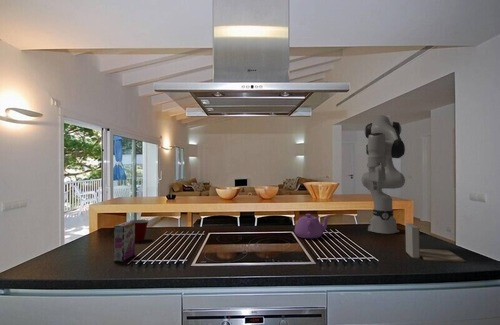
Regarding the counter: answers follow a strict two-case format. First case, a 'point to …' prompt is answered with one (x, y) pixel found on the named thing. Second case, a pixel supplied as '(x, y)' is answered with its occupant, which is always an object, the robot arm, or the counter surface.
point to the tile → (412, 240)
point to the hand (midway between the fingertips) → (377, 190)
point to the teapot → (310, 227)
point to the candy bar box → (124, 241)
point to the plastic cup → (140, 229)
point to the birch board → (439, 255)
